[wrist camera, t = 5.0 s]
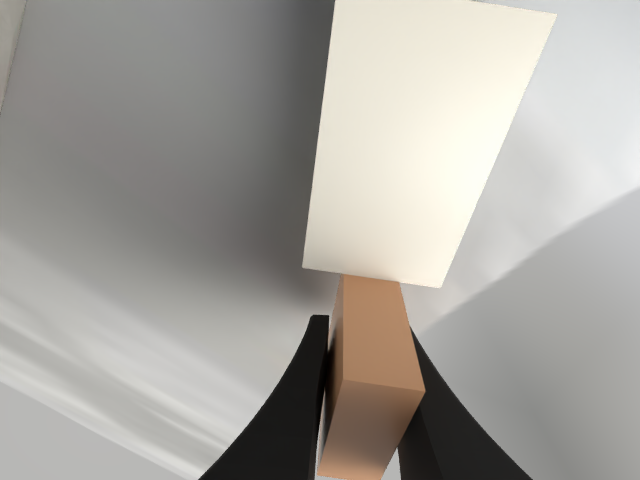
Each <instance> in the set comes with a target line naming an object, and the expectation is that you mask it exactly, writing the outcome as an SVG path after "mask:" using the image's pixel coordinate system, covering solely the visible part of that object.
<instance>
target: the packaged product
mask: <svg viewBox="0 0 640 480" xmlns="http://www.w3.org/2000/svg"><path fill="white" fill-rule="evenodd" d="M26 2H27V0H0V115H1V110H2V106H3V102H4V97H5V93H6V89H7V84H8V80H9V76H10V71H11V67H12V63H13V58H14V54H15V50H16V45H17V41H18V37H19V32H20V28H21V23H22V19H23V15H24V10H25V6H26Z"/></svg>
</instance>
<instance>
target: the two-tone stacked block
mask: <svg viewBox="0 0 640 480" xmlns="http://www.w3.org/2000/svg"><path fill="white" fill-rule="evenodd" d="M557 15H558V14H554V13H547V12H541V11H534V10H528V9H521V8H515V7H509V6H502V5H496V4H489V3H483V2H476V1H470V0H335V7H334V15H333V23H332V31H331V39H330V47H329V55H328V63H327V71H326V79H325V87H324V95H323V103H322V111H321V119H320V127H319V135H318V143H317V151H316V159H315V167H314V175H313V183H312V191H311V199H310V207H309V215H308V223H307V231H306V239H305V247H304V255H303V263H302V268H307V269H314V270H321V271H327V272H334V273H341V276H340V281H339V286H338V291H337V295H336V300H335V305H334V310H333V315H332V320H331V324H330V329H329V334H328V358H327V375H326V383H325V391H324V398H323V405H322V412H321V422H320V437H319V438H320V439H319V453H318V467H317V475H318V476H326V477H332V478H339V479H347V480H381V478H382V476H383V474H384V472H385V469H386V468H387V466H388V464H389V462H390V460H391V458H392V456H393V454H394V452H395V450H396V448H397V446H398V444H399V442H400V440H401V438H402V437H403V435H404V433H405V431H406V429H407V427H408V425H409V423H410V421H411V419H412V417H413V415H414V413H415V411H416V409H417V407H418V405H419V403H420V401H421V399H422V397H423V395H424V393H425V387H424V383H423V379H422V375H421V371H420V366H419V362H418V358H417V354H416V350H415V346H414V342H413V338H412V334H411V329H410V325H409V321H408V317H407V313H406V309H405V305H404V301H403V297H402V293H401V288H400V284H399V282H402V283H409V284H415V285H422V286H429V287H436V288H441V286H442V283H443V281H444V279H445V276H446V274H447V272H448V269H449V267H450V265H451V262H452V260H453V258H454V255H455V253H456V251H457V248H458V246H459V244H460V241H461V239H462V237H463V234H464V232H465V230H466V227H467V225H468V223H469V220H470V218H471V216H472V213H473V211H474V209H475V206H476V204H477V202H478V199H479V197H480V195H481V192H482V190H483V188H484V185H485V183H486V181H487V178H488V176H489V174H490V171H491V169H492V167H493V164H494V162H495V160H496V157H497V155H498V153H499V150H500V148H501V146H502V143H503V141H504V139H505V136H506V134H507V132H508V129H509V127H510V125H511V122H512V120H513V118H514V115H515V113H516V111H517V108H518V106H519V104H520V101H521V99H522V97H523V95H524V92H525V90H526V88H527V85H528V83H529V81H530V78H531V76H532V74H533V71H534V69H535V67H536V64H537V62H538V60H539V57H540V55H541V53H542V50H543V48H544V46H545V43H546V41H547V39H548V36H549V34H550V32H551V29H552V27H553V25H554V22H555V20H556V18H557Z"/></svg>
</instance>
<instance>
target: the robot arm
mask: <svg viewBox="0 0 640 480" xmlns="http://www.w3.org/2000/svg"><path fill="white" fill-rule="evenodd" d="M410 329H411V327H410ZM328 334H329V315H312V316H311V317H310V321H309V324H308V327H307V330H306V332H305V334H304V337H303V339H302V341H301V343H300V345H299V347H298V349H297V351H296V353H295V355H294V357H293V359H292V361H291V363H290V364H289V366H288V368H287V369H286V371H285V373H284V375H283V376H282V378H281V380H280V381H279V383H278V384H277V386H276V387H275V389H274V390H273V392H272V393H271V395H270V396H269V398H268V399H267V400H266V402H265V403H264V405H263V406H262V407H261V409H260V410H259V411H258V413H257V414H256V415H255V417H254V418H253V419H252V421H251V422H250V423H249V424H248V426H247V427H246V428H245V429H244V430H243V432H242V433H241V434H240V435H239V436H238V437H237V438H236V440H235V441H234V442H233V443H232V444H231V445H230V447H229V448H228V449H227V450H226V451H225V452H224V453H223V454H222V456H221V457H220V458H219V459H218V460H217V461H216V462H215V463H214V464H213V465H212V466H211V467H210V468H209V469H208V470H207V471H206V472H205V473H204V474H203V475H202V476H201V477H200V478H199V479H198V480H314V478H315V463H316V449H317V440H318V432H319V425H320V419H321V412H322V405H323V398H324V391H325V383H326V375H327V358H328ZM411 334H412V338H413V342H414V346H415V350H416V354H417V358H418V362H419V366H420V371H421V375H422V379H423V383H424V387H425V393H424V395H423V397H422V399H421V401H420V403H419V405H418V407H417V409H416V411H415V413H414V415H413V417H412V419H411V421H410V423H409V425H408V427H407V429H406V431H405V433H404V435H403V437H402V438H401V440H400V442H399V444H398V446H397V448H398V454H399V463H400V473H401V480H533V479H531V478H530V477H529V476H528V475H527V474H526V473H525V472H524V471H523V470H522V469H521V468H520V467H519V466H518V465H517V464H516V463H515V462H514V461H513V460H512V459H511V458H510V457H509V456H508V455H507V454H506V453H505V452H504V451H503V450H502V449H501V447H500V446H499V445H497V443H496V442H495V441H494V440H493V439H492V438H491V437H490V436H489V435H488V434H487V433H486V431H484V429H483V428H482V427H481V426H480V425H479V424H478V422H477V421H476V420H475V419H474V418H473V417H472V415H471V414H470V413H469V412H468V411H467V409H466V408H465V407H464V406H463V405H462V403H461V402H460V401H459V400H458V398H457V397H456V396H455V394H454V393H453V392H452V391H451V389H450V388H449V386H448V385H447V384H446V382H445V381H444V379H443V378H442V377H441V375H440V374H439V372H438V371H437V369H436V368H435V366H434V365H433V363H432V362H431V360H430V359H429V357H428V356H427V354H426V353H425V351H424V349H423V348H422V346H421V344H420V343H419V341H418V339H417V338H416V336H415V334H414V332H413V331H412V329H411Z"/></svg>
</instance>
